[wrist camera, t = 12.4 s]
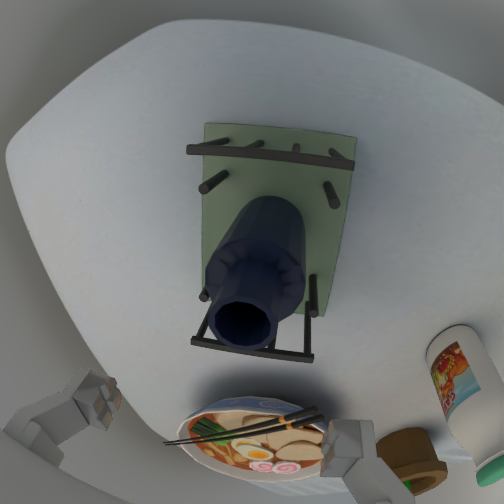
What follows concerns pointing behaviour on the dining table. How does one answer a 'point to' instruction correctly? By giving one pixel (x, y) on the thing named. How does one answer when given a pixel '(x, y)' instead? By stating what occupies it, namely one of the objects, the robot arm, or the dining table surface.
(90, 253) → the dining table surface
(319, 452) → the ramen bowl
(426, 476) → the flowerpot
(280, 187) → the rack
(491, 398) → the milk bottle
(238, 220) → the bottle
